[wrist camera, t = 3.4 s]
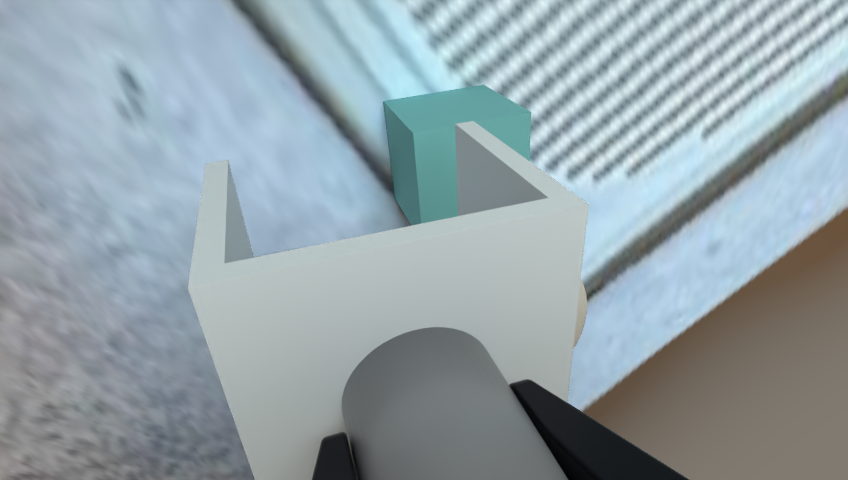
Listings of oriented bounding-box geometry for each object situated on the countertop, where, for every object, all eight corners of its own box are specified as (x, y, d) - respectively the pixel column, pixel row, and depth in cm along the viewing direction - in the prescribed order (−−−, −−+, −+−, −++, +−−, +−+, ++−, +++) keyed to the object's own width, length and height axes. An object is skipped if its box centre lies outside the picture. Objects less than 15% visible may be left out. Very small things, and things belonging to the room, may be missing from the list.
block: (484, 178, 22) (527, 219, 19) (394, 197, 21) (423, 243, 18) (482, 84, 20) (530, 112, 17) (383, 100, 19) (412, 133, 16)
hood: (475, 321, 17) (689, 652, 9) (266, 375, 15) (299, 831, 7) (473, 120, 14) (809, 363, 6) (205, 163, 12) (146, 579, 4)
